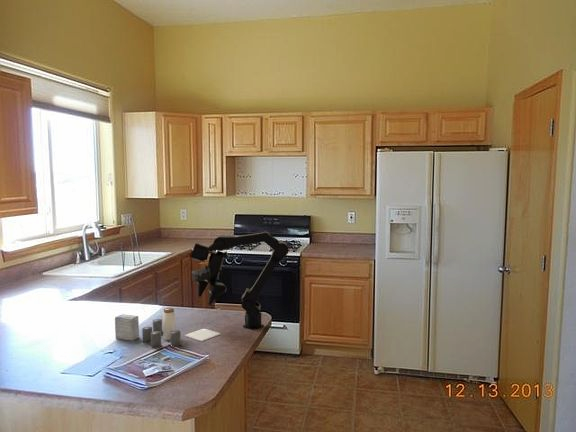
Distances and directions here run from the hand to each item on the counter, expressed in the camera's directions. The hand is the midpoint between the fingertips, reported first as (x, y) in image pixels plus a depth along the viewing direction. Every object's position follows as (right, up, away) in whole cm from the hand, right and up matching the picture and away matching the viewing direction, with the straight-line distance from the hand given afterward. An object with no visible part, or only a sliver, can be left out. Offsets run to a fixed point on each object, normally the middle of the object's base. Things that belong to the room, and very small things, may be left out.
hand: (204, 300), depth 174 cm
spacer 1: (-19, -12, -15) cm, 27 cm away
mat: (+1, -12, -8) cm, 15 cm away
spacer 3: (-14, -13, -20) cm, 27 cm away
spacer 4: (-7, -13, -19) cm, 24 cm away
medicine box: (-28, -13, -11) cm, 32 cm away
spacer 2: (-18, -12, -5) cm, 22 cm away
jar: (-11, -12, -11) cm, 20 cm away
